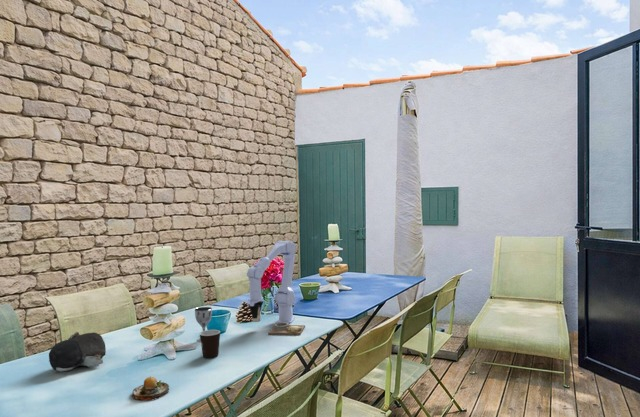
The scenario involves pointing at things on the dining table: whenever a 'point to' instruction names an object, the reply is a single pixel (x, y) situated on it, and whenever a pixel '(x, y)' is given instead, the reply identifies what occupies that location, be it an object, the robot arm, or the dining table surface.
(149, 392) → the brimmed hat
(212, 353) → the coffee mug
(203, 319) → the wine glass
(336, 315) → the dining table surface
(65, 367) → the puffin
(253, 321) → the planet hub
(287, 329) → the plate
